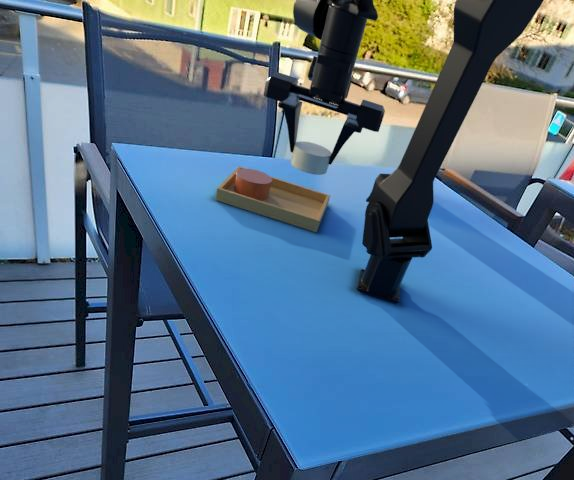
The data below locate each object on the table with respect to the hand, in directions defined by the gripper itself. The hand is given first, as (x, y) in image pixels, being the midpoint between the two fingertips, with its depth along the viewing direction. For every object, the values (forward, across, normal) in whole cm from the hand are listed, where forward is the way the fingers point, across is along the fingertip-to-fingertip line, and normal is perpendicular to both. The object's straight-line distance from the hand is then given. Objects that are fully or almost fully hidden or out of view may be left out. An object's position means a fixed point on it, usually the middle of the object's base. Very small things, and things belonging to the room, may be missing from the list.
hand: (311, 157), depth 82 cm
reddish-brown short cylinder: (+9, +9, 0) cm, 13 cm away
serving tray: (+10, +4, 0) cm, 11 cm away
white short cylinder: (+2, 0, 0) cm, 2 cm away
